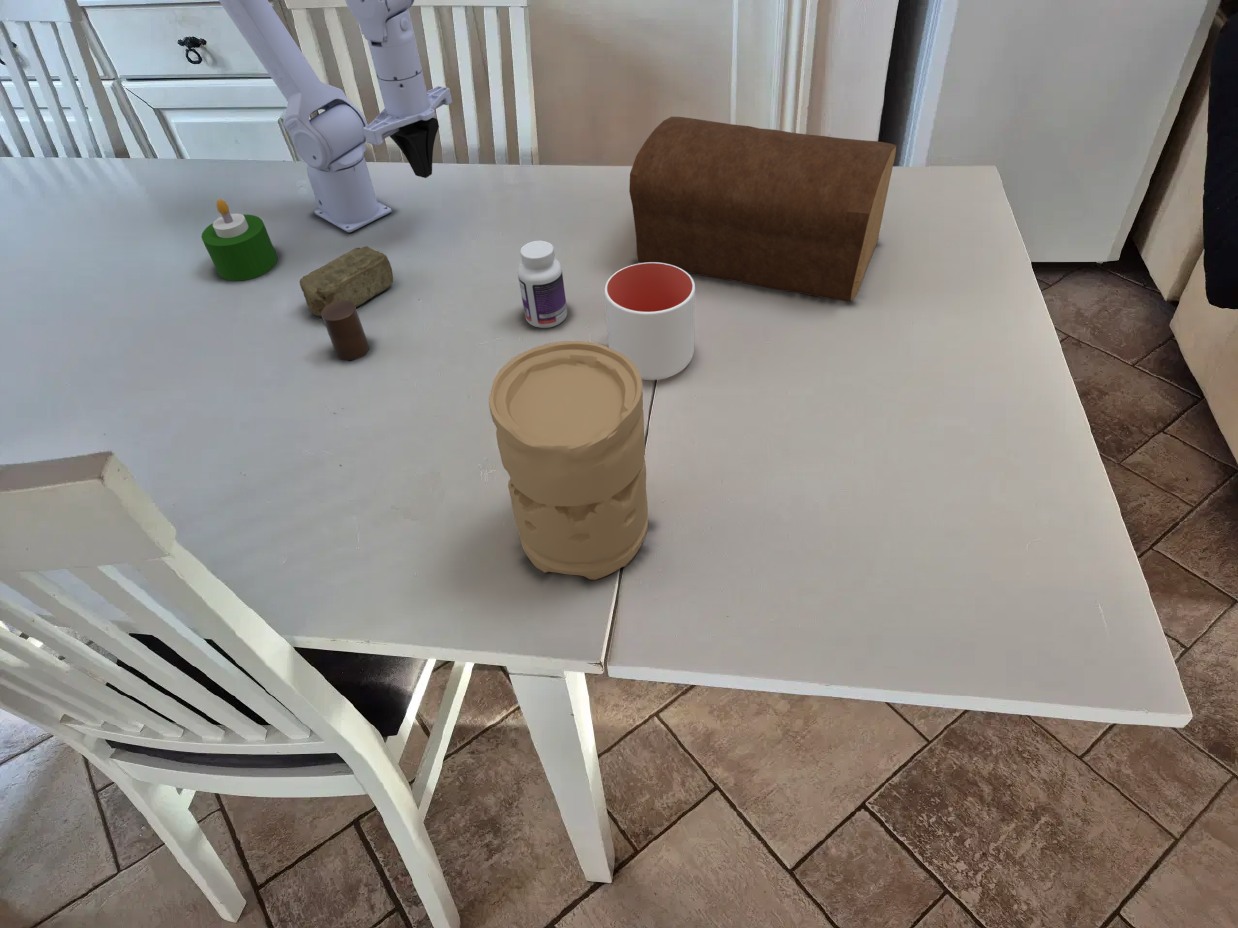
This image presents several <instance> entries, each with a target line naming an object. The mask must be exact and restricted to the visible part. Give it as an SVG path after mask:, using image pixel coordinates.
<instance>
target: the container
mask: <svg viewBox="0 0 1238 928" xmlns="http://www.w3.org/2000/svg"><path fill="white" fill-rule="evenodd" d="M642 381H643V380H642V379H641V376H640V374H639V371H638V369H637V368H636V366H635V365H634V364H633V362H632V361H631V360H629V359H628V358H627V357H626V356H625V355H623V354H621V353H619V352H617V351H615V350H613V349H610V348H609V346H606V345H604V344H601V343H598V342H597V343H596V342H591V341H583V340H582V341H581V340H565V341H556V342H549V343H545V344H542V345H538V346H535V347H532V348H529V349H527V350H525V351H523V352H521V353H519V354H517V355H516V356H514V357H513V358H511V359H510V360H509V361H508V362H507V363H506V364H504V365H503V366H502V367H501V368H500V370H498V372H497V374H496V375H495V377H494V378H493V381H492V385H491V389H490V393H489V396H488V408H489V412H490V417H491V419H492V422H493V424H494V426H495V428H496V429H495V430H496V431H495V436H496V441H497V447H498V451H499V457H500V461H501V464H502V467H503V469H504V470H505V471H506V472H507V474H508V476H509V478H510V479H509V480H508V482H507V488H508V492H509V496H510V501H511V508H512V512H513V517H514V521H515V526H516V529H517V532H518V534H519V535H518V536H519V541H520V543H521V547H522V549H523V551H524V554H525V555H526V556H527V558H528V559H529V561H530V562H531V564H532V565H533V566H534V567H535V568H536V569H537V570H540V571H541V572H543V573H549V572H550V573H557V574H558V573H559V574H563V575H573V576H580V577H581V576H582V577H584V578H586V579H588V580H595V581H596V580H599V579H602V578H605V577H606V576H609V575H611V574H613V573H615V572H617V571H618V570H619V569H621V568H623V567H626V566H627V565H628V564H629V563H630V561H632V560H633V558H634V557H635V556H636V554H637V553H638V552H639V549H641V547H642V544H643V541H644V540H645V538H646V535H647V533H648V529H649V507H648V495H647V466H646V458H645V456H646V440H645V439H646V438H645V417H644V415H645V414H644V399H643V398H644V395H643V382H642Z"/></svg>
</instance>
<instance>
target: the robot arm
mask: <svg viewBox="0 0 1238 928" xmlns="http://www.w3.org/2000/svg"><path fill="white" fill-rule="evenodd" d="M344 1H345V3H346V6H347V8H348V10H349V11H350V13H351V15H352V16H353V17H354V18H355V19H356V21H357V23H358V26H359V28H360V32H361V35H363V37H364V39H365V40H367V44H368V48H369V52H370V56H371V60H372V64H373V67H374V71H375V75H376V79H377V83H378V87H379V91H380V95H381V99H382V103H383V106H384V108H383V109H382V111H380V113H379V114H377V116H376V117H375V118H374V119H373V120H372V121H371V122H369V124H368V121H367V119H366V117H365V115H364V113H363V112H362V111H361V110H360V109H359V107H357V106H356V105H355V104H354V103H353V102H352V101H351V100H350V99H349V98H348V97H347V95H346V94H345V91H343V89H341V88H339V87H336V86H334V85H330V84H328V83H325V82H322V81H321V79H320V78H319V77H318V75H317V74H316V72H315V70H314V69H313V67H312V66H311V64H310V63H309V61H308V59H307V58H306V57H305V55H304V53H303V52H302V51H301V49H300V47H299V46H298V44H297V42H296V41H295V40H294V38H293V37H292V36H291V34H290V33H289V31H288V29H287V28H286V25H284V23H283V21H282V20H281V18H280V17H279V15H278V14H277V12H276V11H275V9H274V8H273V6H272V4H271V3H270V2H269V0H218V2H219V3H220V4H221V6H222V7H223V9H224V11H225V13H226V14H227V15H228V16H229V19H231V21H232V22H233V24H234V25H235V27H236V28H237V30H238V31H239V33H240V34H241V35H242V37H243V38H244V40H245V41H246V43H247V45H248V46H249V47H250V49H251V50H252V51H253V53H254V55H255V56H256V57H257V59H258V60H259V62H260V63H261V65H262V66H263V68H264V69H265V71H266V72H267V74H268V75H269V76H270V78H271V80H272V81H273V82H274V84H275V85H276V87H277V88H278V90H279V91H280V93H281V94H282V96H283V97H284V99H285V100H286V102H287V105H286V108H285V109H286V110H285V114H284V117H283V121H282V122H283V123H282V125H283V127H284V128H285V131H287V133H288V135H289V137H290V139H291V141H292V144H293V147H294V149H295V152H296V154H297V155H298V156H299V158H300V159H301V160H302V161H303V162H304V163H305V164H306V173H307V178H308V180H309V184H310V186H311V189H312V192H313V195H314V197H315V201H316V203H317V206H318V208H317V209H315V210H314V214H315V215H316V216H317V217H320V218H321V219H323V220H325V221H326V222H329V223H330V224H332V225H334V226H336V227H338V228H339V229H341V230H343V231H345V232H346V233H352V232H355V231H356V230H359V229H360V228H362V227H365V226H366V225H368V224H370V223H373V222H374V221H376V220H378V219H380V218H382V217H384V216H386V215H389V214H390V213H392V208H391V207H389V206H387V205H385V204H383V203H381V202H380V201H378V199H377V195H376V192H375V188H374V186H373V181H372V178H371V175H370V171H369V167H368V165H367V161H366V157H365V152H367V147H366V144H365V143H367V144H370V145H374V146H377V147H379V146H381V145H382V144H384V140H385V139H387V138H390V139H391V140H392V141H393V142H394V143H395V144H396V146H397V147H398V148H399V150H400V151H401V153H403V155H404V157H405V159H406V160H407V162H408V164H409V165H410V168H411V170H412V171H413V174H414V175H415V176H417V177H419V178H424V179H427V178H429V177H431V176H432V175H433V156H434V146H435V140H436V137H437V133H438V131H439V128H440V124H439V120H438V118H435V117H436V110H437V109H438V108H440V107H442V106H443V105H445V106H448V105H451V104H452V103H453V100H452V99H453V98H452V94H451V89H450V88H449V87H447V86H446V87H445V86H440V85H438V86H435V87H433V88H431V89H428V90H427V84H426V81H425V77H424V72H423V68H422V64H421V57H420V55H419V50H418V45H417V40H416V36H415V30H414V27H413V26H414V25H413V22H412V17H411V12H410V8H411V7H412V6H413V5H414V3H415V0H344ZM321 110H322V112H320V113H318V114H317V115H315V116H313V117H312V118H310V116H311V115H313V114H314V113H316V112H319V111H321Z"/></svg>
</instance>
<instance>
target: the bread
mask: <svg viewBox="0 0 1238 928" xmlns="http://www.w3.org/2000/svg"><path fill="white" fill-rule="evenodd" d="M896 152H897V144H893V143H889V142H884V141H877V140H866V139H865V140H864V139H854V138H844V137H843V138H842V137H835V136H834V137H833V136H827V135H818V134H807V133H799V132H798V133H797V132H790V131H785V130H780V129H771V128H760V127H755V126H750V125H742V124H733V123H726V122H719V121H713V120H705V119H699V118H693V117H685V116H670V117H668V118H666V119H664V120H662V121H661V123H659V124H658V125H657V126H656V127H655V128H654V130H653V131H652V132H651V133H650V134H649V135H648V137H647V138H646V139H645V141H644V143H643V144H642V146H641V148H640V149H639V151H638V152H637V154H636V156H635V158H634V161H633V164H632V167H631V169H630V172H629V187H628V189H629V191H628V192H629V196H630V197H629V198H630V201H631V206H632V214H633V223H634V229H635V230H634V231H635V243H636V246H635V247H636V259H637V263H648V262H657V263H665V264H670V265H673V266H676V267H679V268H681V269H682V270H684V271H686V272H687V273H691V274H696V275H701V276H705V277H711V278H714V279H715V278H716V279H721V280H727V281H732V282H733V281H734V282H738V283H739V282H740V283H744V284H747V285H748V284H749V285H752V286H756V287H757V286H758V287H763V288H768V289H772V290H773V289H774V290H778V291H779V290H780V291H786V292H793V293H798V294H803V295H804V294H805V295H809V296H813V297H819V298H824V299H829V300H837V301H843V302H851V301H852V300H853V299H854V298H855V297H856V296H857V295H858V293H859V290H860V288H861V285H862V283H863V279H864V277H865V275H866V272H867V269H868V267H869V264H870V262H871V259H872V256H873V254H874V252H875V249H876V248H877V247H876V246H877V244H878V242H879V237H880V233H881V228H882V227H881V226H882V221H883V217H884V211H885V206H886V202H887V197H888V192H889V186H890V182H891V177H892V173H893V168H894V163H895V157H896V154H897V153H896Z"/></svg>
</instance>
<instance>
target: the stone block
mask: <svg viewBox="0 0 1238 928" xmlns="http://www.w3.org/2000/svg"><path fill="white" fill-rule="evenodd" d="M393 275H394V274H393V269H392V266H391V262H390V260H389V259H388V256H387V254H386V253H383V252H381V251H379V250H376V249H373V248H371V247H369V246H367V245H366V246H365V245H364V246H361V247H355V248H353V249H351V250H350V251H348V252H345V253H344V254H341V255H340V256H338V257H336V258H335V259H333V260H331V261H330V262H328V263H325V264H324V265H322V266H320V267H319V268H317V269H314V270H313V271H311V272H309V273H308V274H306V275H304V276H302V277H301V278H300V280H299V285H300V289H301V291H302V292H303V297H304V298H305V299H304V300H305V302H306V306H307V309H308V310H309V311H310V312H311V313H312V314H314V315H315V316H317V317H319V318H322V315H321V313H322V310H323V309H324V308H325V307H326V306H327V305H329V304H331V303H333V302H337V301H349V302H352V303H353V304H354V305H355V307H356V308H357V307H360V306H361V305H363V304H364V303H366V302H367V301H369V300H372V299H373V298H374V297H375V296H376V295H379V294H380V293H383V292H384V291H385V290H387V289H388V288H390V287H391V285H392V284H393V283H394V276H393Z"/></svg>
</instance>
